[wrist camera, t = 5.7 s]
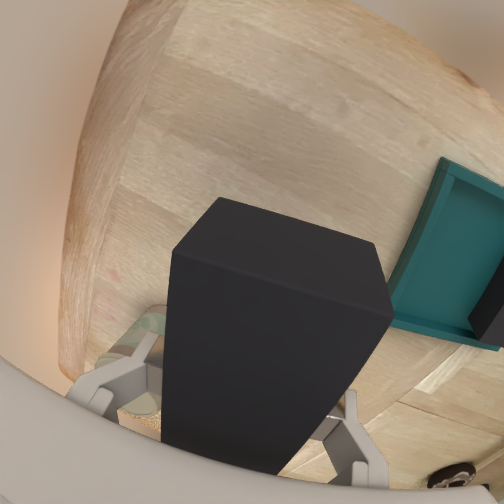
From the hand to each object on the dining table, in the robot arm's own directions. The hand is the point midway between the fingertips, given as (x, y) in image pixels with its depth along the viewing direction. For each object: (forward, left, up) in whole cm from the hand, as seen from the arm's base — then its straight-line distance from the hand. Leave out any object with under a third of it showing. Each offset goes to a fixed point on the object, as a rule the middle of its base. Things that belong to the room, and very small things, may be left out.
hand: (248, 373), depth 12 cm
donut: (+46, +53, -20) cm, 72 cm away
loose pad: (0, 0, -2) cm, 2 cm away
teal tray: (0, +21, -19) cm, 28 cm away
